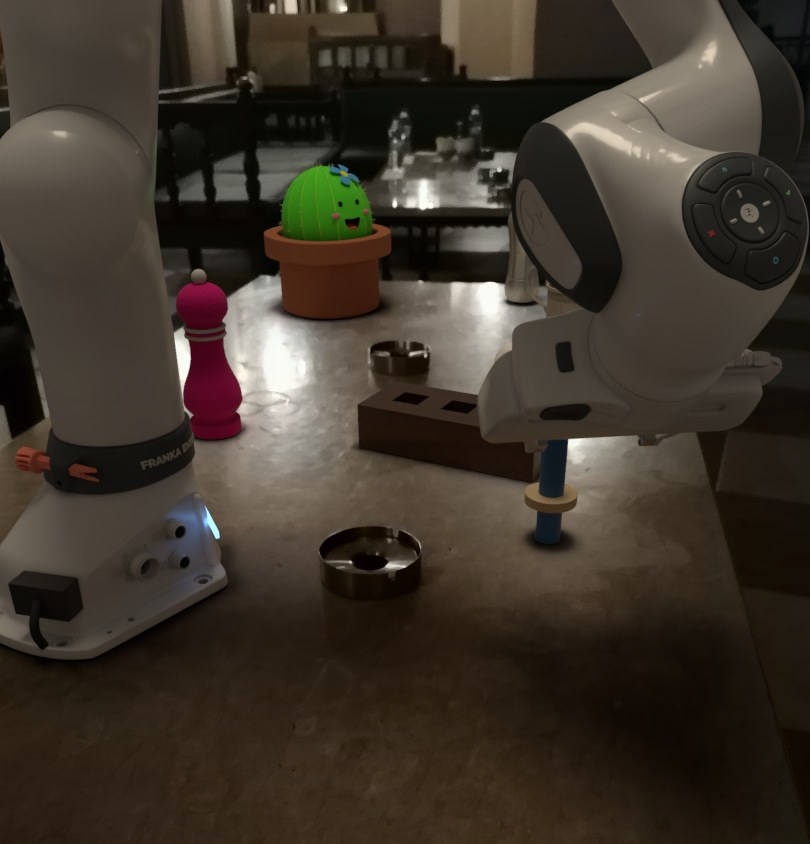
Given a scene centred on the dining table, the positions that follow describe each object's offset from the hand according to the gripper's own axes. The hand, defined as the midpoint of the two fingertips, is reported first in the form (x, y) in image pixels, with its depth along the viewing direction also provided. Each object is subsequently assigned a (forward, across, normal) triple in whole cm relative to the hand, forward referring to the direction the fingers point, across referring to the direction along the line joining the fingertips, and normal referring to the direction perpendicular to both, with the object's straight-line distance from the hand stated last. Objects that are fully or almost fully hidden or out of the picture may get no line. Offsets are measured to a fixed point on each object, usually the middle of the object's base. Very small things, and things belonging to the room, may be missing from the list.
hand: (589, 440), depth 74 cm
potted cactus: (+82, +17, -62) cm, 104 cm away
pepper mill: (+40, +34, -20) cm, 57 cm away
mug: (+62, -18, -42) cm, 77 cm away
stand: (+33, +5, -13) cm, 36 cm away
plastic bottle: (+81, -18, -60) cm, 103 cm away
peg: (+17, 0, +3) cm, 17 cm away
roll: (+50, -7, -29) cm, 58 cm away
